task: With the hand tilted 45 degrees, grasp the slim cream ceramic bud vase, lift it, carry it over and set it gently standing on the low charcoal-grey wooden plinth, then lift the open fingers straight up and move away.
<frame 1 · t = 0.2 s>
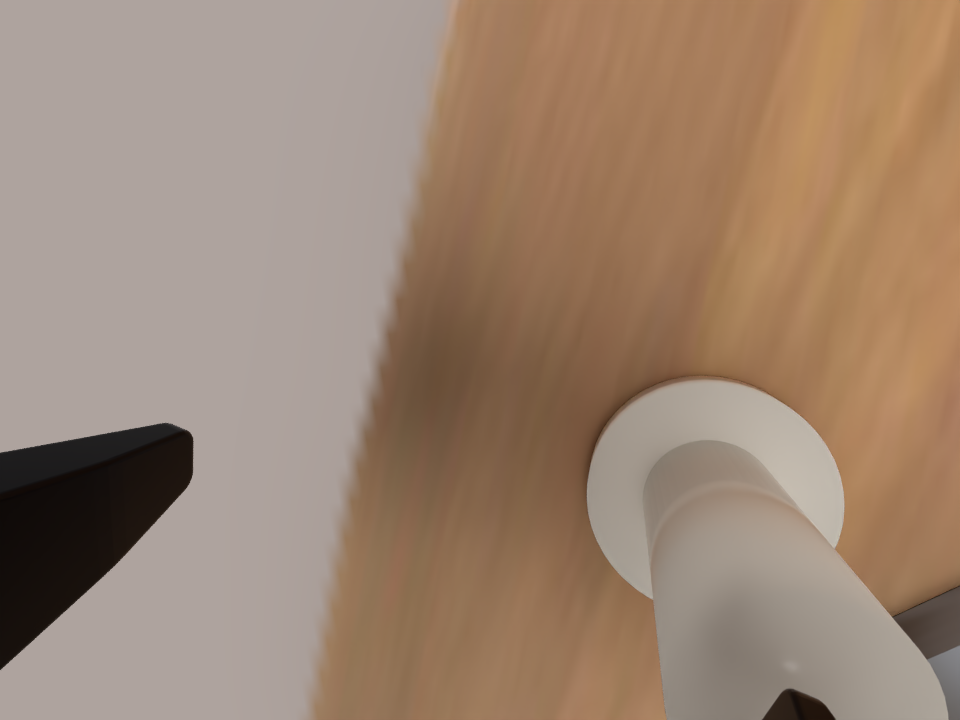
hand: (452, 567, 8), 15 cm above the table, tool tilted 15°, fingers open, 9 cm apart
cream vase: (701, 484, 22), on the table
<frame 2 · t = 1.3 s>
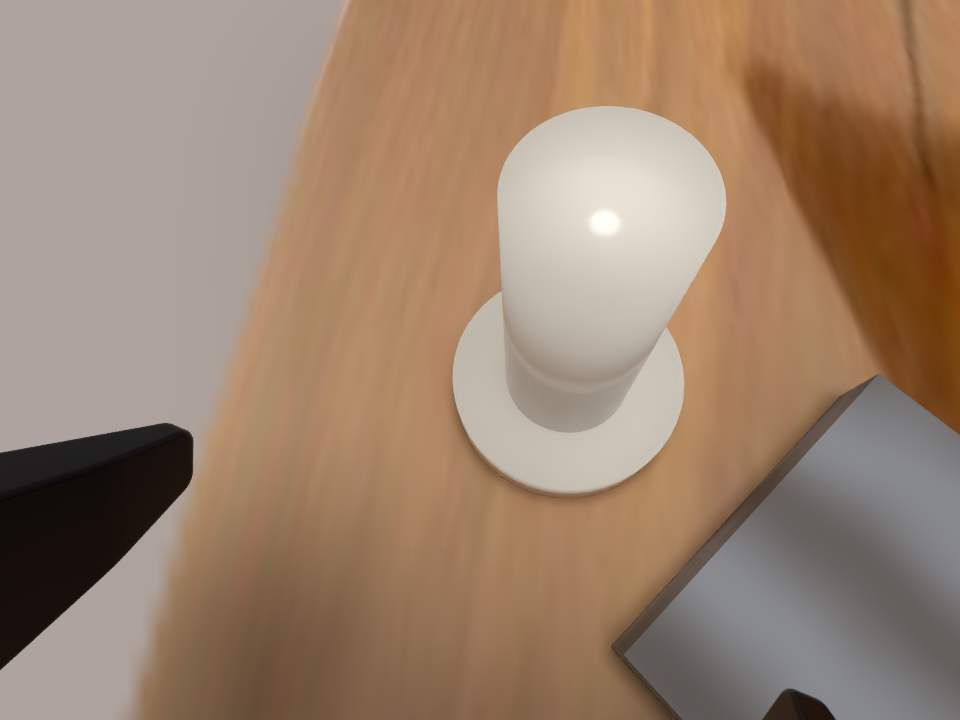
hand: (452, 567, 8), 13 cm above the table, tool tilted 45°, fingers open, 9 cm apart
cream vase: (562, 390, 23), on the table
grey block: (893, 661, 19), on the table
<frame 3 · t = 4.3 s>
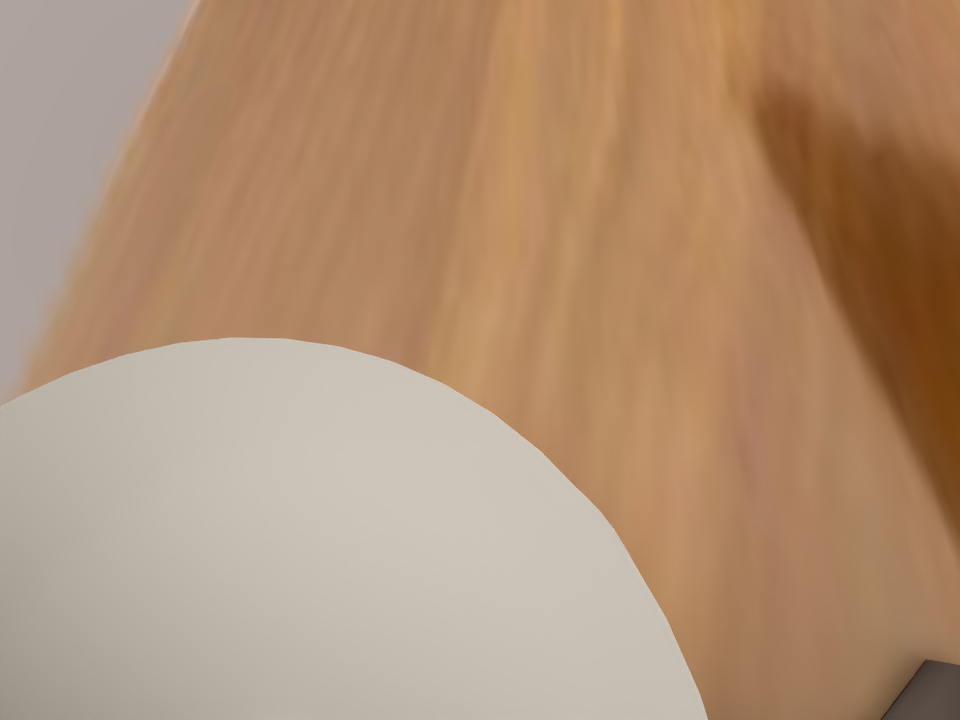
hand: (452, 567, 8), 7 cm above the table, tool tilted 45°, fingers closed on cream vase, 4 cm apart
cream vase: (457, 635, 14), on the table, touching gripper
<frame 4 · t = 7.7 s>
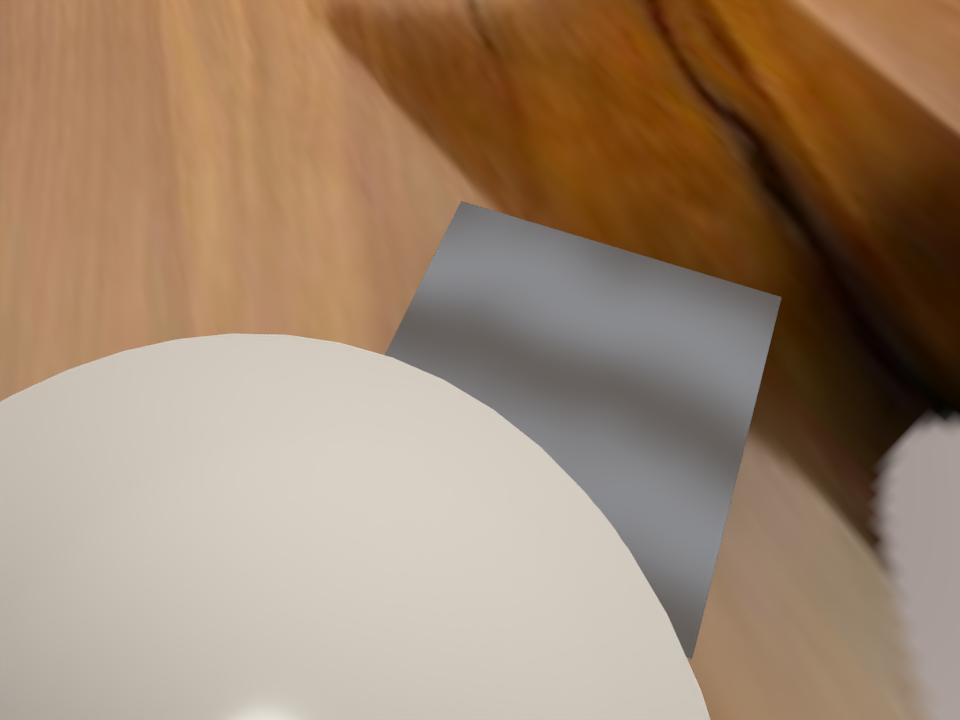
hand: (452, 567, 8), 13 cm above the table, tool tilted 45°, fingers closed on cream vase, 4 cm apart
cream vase: (458, 634, 14), point 7 cm above the table, touching gripper
grey block: (553, 412, 23), on the table
when the fingers open (9 cm above the table, at t = 11.0 s): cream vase stays where it is, resting on grey block.
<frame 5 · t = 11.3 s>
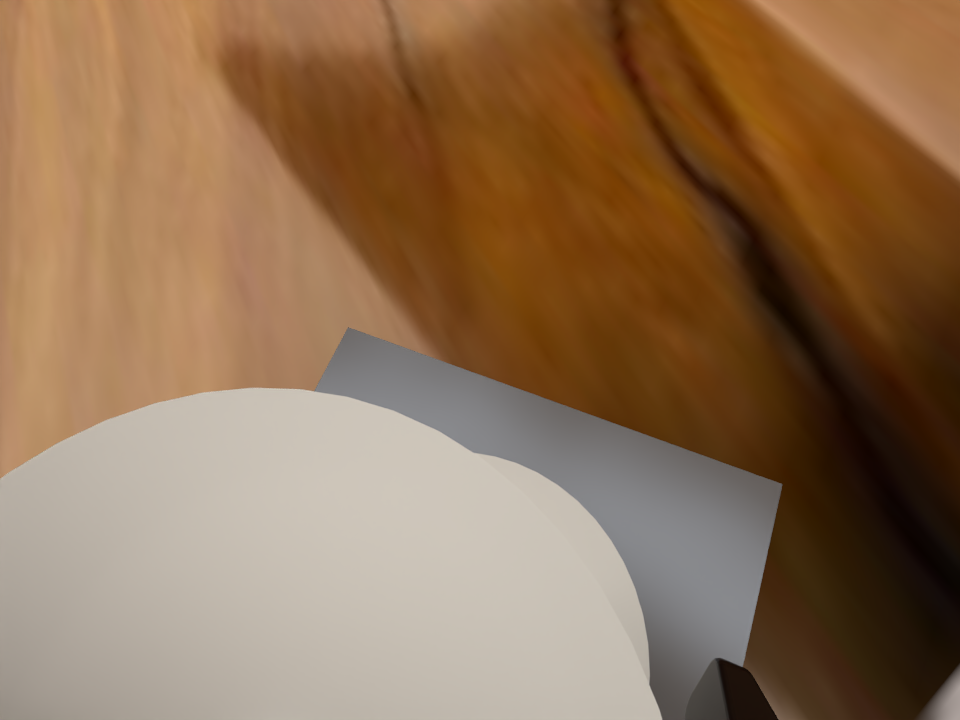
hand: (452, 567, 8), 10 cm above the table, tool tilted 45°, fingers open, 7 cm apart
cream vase: (457, 639, 14), point 3 cm above the table, touching grey block
grey block: (468, 626, 16), on the table
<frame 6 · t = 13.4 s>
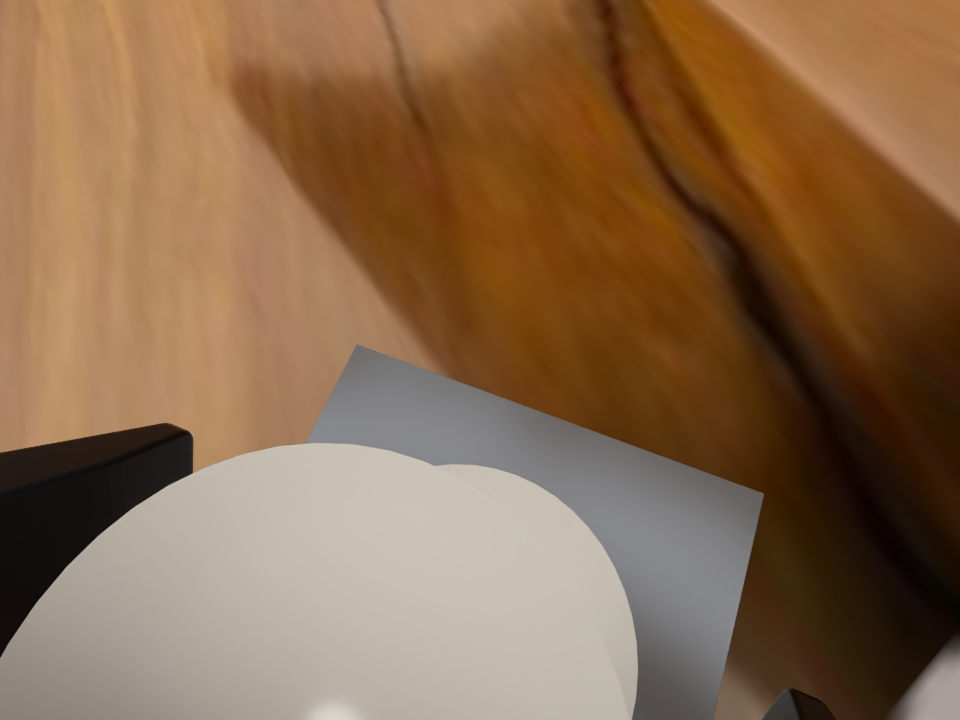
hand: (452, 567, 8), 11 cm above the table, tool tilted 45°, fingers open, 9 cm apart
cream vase: (460, 638, 15), point 2 cm above the table, touching grey block
grey block: (470, 626, 18), on the table
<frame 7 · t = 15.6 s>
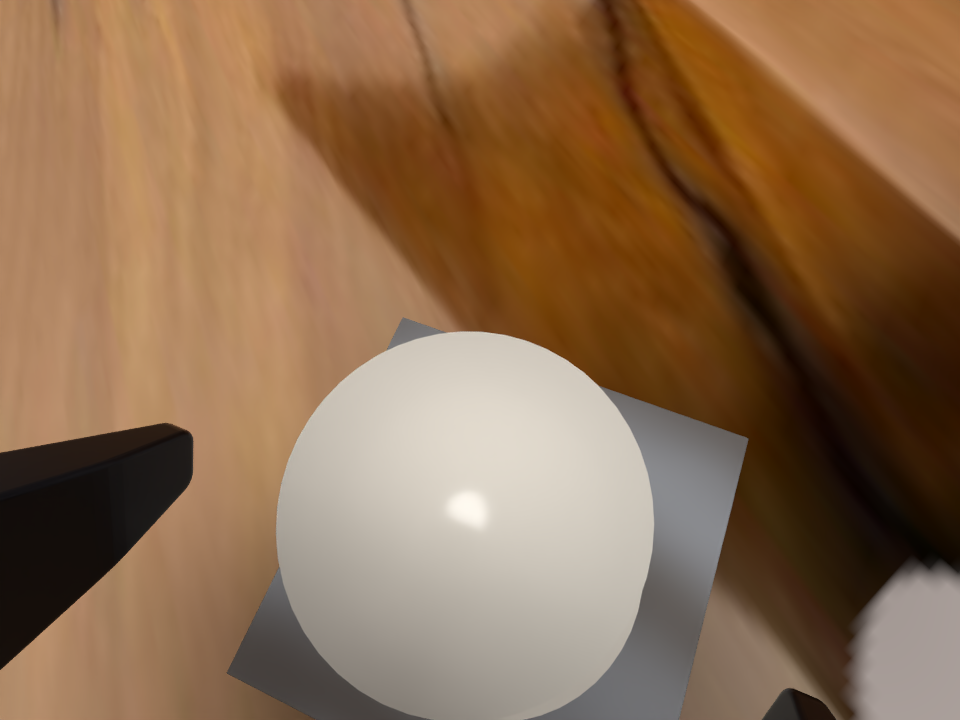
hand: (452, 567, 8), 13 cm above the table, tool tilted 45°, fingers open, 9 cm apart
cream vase: (496, 555, 18), point 2 cm above the table, touching grey block
grey block: (501, 554, 21), on the table
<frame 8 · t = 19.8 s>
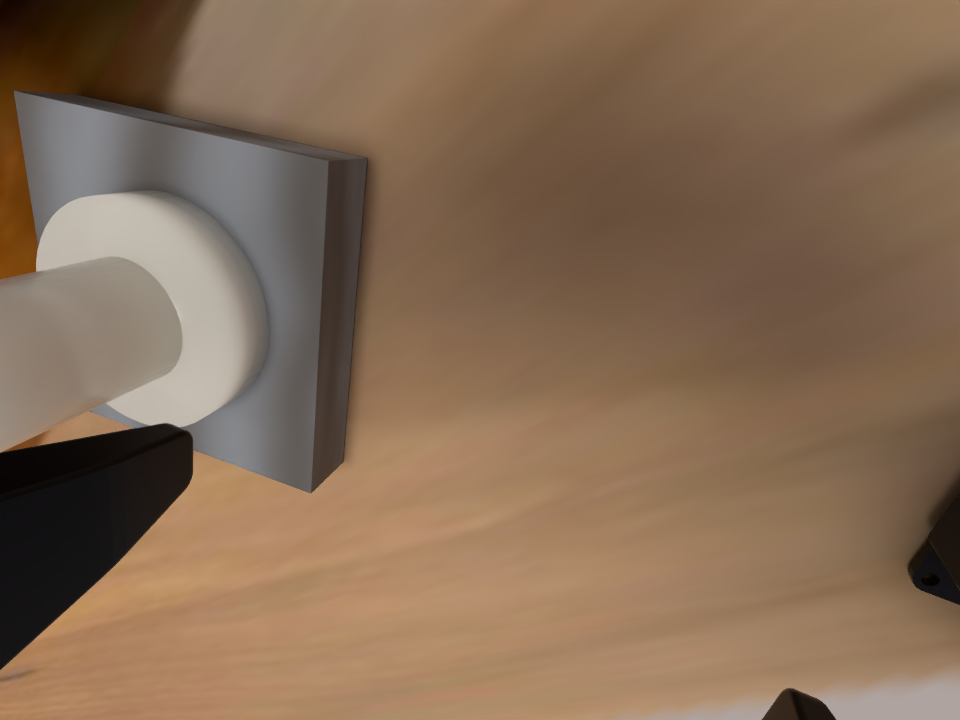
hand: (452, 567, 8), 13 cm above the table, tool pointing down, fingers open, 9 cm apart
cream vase: (174, 305, 22), point 3 cm above the table, touching grey block
grey block: (217, 288, 24), on the table
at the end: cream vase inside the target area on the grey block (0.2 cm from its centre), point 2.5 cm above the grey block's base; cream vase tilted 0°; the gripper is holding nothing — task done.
